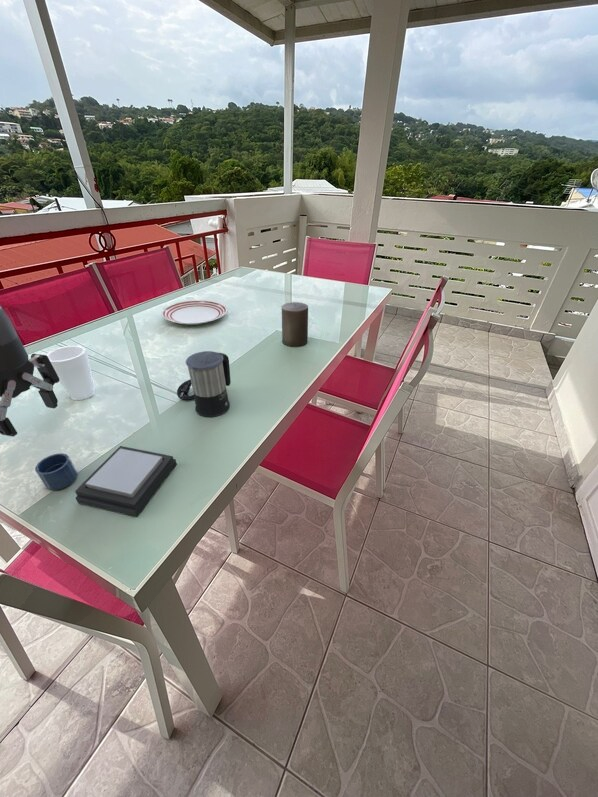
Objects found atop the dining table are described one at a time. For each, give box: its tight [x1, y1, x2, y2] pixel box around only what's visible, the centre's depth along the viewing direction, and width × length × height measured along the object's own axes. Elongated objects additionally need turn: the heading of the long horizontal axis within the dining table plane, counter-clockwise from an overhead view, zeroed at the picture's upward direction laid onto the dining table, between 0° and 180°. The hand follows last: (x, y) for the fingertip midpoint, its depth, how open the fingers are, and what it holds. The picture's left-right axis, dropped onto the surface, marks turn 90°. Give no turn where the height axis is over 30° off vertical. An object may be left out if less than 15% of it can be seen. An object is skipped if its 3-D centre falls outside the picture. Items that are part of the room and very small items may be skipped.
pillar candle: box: [280, 301, 309, 348], centre depth 121 cm, size 10×10×15 cm
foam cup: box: [45, 345, 96, 401], centre depth 91 cm, size 10×9×13 cm
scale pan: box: [86, 449, 163, 498], centre depth 66 cm, size 10×10×1 cm
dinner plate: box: [161, 299, 228, 326], centre depth 144 cm, size 27×27×3 cm
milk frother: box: [176, 350, 232, 418], centre depth 88 cm, size 14×16×15 cm
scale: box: [74, 445, 178, 518], centre depth 67 cm, size 14×13×3 cm
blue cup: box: [34, 452, 78, 491], centre depth 67 cm, size 6×6×5 cm
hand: (33, 420), depth 61 cm, fingers open, 8 cm apart
